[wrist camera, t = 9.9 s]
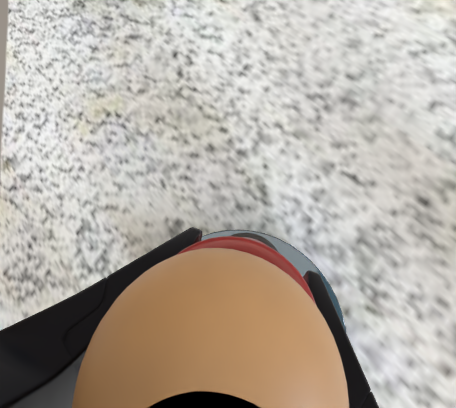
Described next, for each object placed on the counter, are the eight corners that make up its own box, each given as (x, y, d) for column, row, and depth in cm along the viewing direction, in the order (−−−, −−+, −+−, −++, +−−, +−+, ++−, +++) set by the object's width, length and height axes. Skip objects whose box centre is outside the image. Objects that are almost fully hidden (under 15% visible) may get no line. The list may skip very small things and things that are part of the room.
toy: (238, 322, 15) (71, 1136, 1) (196, 260, 15) (-159, 394, 2) (298, 278, 15) (718, 675, 1) (253, 218, 15) (237, 99, 2)
